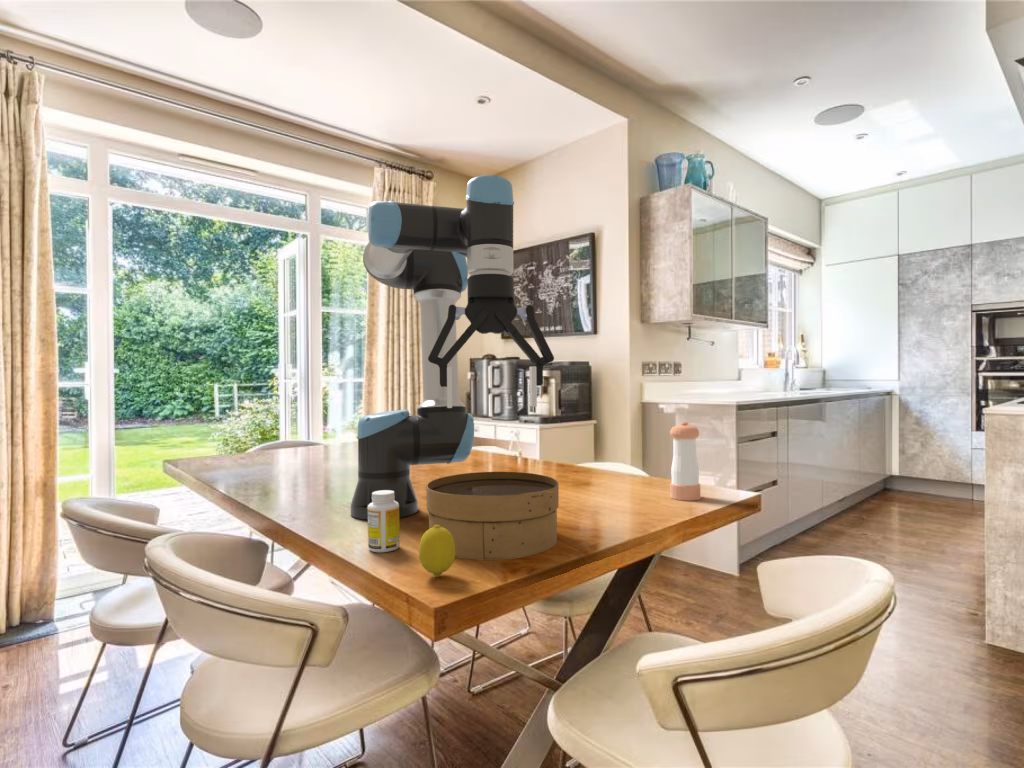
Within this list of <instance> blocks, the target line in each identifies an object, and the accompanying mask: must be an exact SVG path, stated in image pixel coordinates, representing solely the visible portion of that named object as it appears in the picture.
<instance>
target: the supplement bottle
mask: <svg viewBox="0 0 1024 768" xmlns="http://www.w3.org/2000/svg"><path fill="white" fill-rule="evenodd" d="M394 500H395V496H394V491H391V490H380V491H375V492H373V493H372V503H370V504H369V505H368V520H367V541H368V542H367V543H368V544H367V546H368V549H369V551H371V552H374V553H380V554H381V553H389V552H392V551H396V550H397V549H398V548H399V547H401V546H400V545H401V540H400V537H401V536H400V535H401V534H400V533H401V532H400V529H401V528H400V527H401V526H400V518H399V503H398V502H396V501H394Z"/></svg>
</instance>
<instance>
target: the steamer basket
mask: <svg viewBox="0 0 1024 768" xmlns="http://www.w3.org/2000/svg"><path fill="white" fill-rule="evenodd" d="M559 483H560V482H559V481H558V480H556V479H555V478H553V477H552V476H547V475H543V474H539V473H538V474H537V473H529V472H523V471H522V472H519V471H479V472H466V473H459V474H452V475H447V476H442V477H439V478H435V479H432V480H431V481H429V482H428V483H427V484H426V487H425V488H426V489H425V491H426V492H425V493H426V495H425V497H426V511H427V512H428V528H429V529H430V528H432V527H434V526H435V525H440V527H443V528H445V529H447V530H448V531H449V532H450V533H451V535H452V536H453V539H454V543H455V558H458V559H467V560H480V561H502V560H512V559H520V558H526V557H530V556H533V555H537V554H540V553H542V552H546V551H548V550H550V549H551V548H553V547H554V546H555V545H556V544H557V543H558V515H557V514H558V510H557V509H558V508H559V505H560V503H559V499H560V497H559V492H560V491H559V489H560V488H559ZM429 529H428V530H429Z"/></svg>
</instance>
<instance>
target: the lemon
mask: <svg viewBox="0 0 1024 768" xmlns="http://www.w3.org/2000/svg"><path fill="white" fill-rule="evenodd" d="M419 541H420V542H419V545H418V546H419V547H418V557H419V561H420V564H421V566H422V568H423V569H424V570H425V571H427V572H428V573H431V574H432V575H433V576H435V577H436V578H438V577H440V576H441V575H442V574H443V573H446V572H447V571H448V570H449V569H450V568H451V567H452V565H454V563H455V562H454V561H455V558H456V557H455V543H454V539H453V536H452V535H451V533H450V532H449V531H448V530H447V529H445V528H443V527H440V525H435V526H434V527H432V528H430V529H427V530H426V531H425V532H424V533H423V535H422V537H421V538H420V540H419Z"/></svg>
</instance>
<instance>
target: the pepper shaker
mask: <svg viewBox="0 0 1024 768" xmlns="http://www.w3.org/2000/svg"><path fill="white" fill-rule="evenodd" d="M669 434H670V437H672V438H673V439H672V441H673V444H672V445H673V447H672V448H673V449H672V451H673V455H672V461H671V462H672V463H671V469H670V472H671V473H670V475H671V482H670V483H669V491H670V492H669V496H670V499H673V500H678V501H698V500H700V499H701V484H700V483H699V482H700V481H699V479H700V478H699V477H700V470H699V469H700V468H699V464H698V458H697V438H698V437H699V436H700V431H699V429H698V428H697V427H696V426H694V425H693V424H692V425H691V424H688V422H687V421H682V422H681V423H680V424H678V425H674V426H672V427H671V429H670V431H669Z"/></svg>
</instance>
